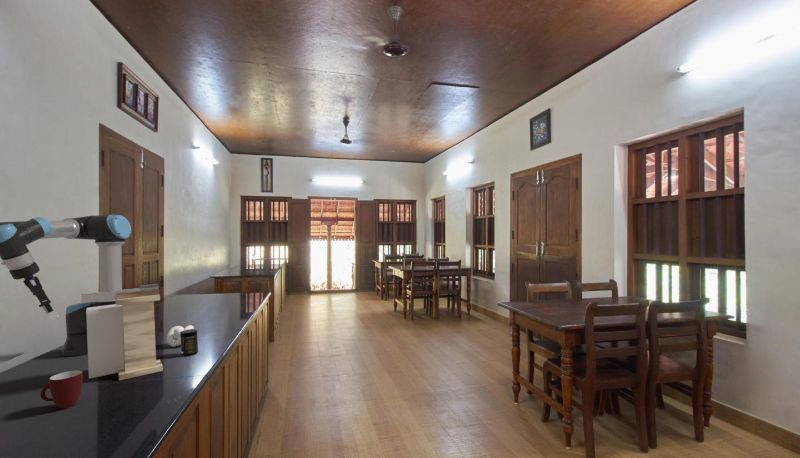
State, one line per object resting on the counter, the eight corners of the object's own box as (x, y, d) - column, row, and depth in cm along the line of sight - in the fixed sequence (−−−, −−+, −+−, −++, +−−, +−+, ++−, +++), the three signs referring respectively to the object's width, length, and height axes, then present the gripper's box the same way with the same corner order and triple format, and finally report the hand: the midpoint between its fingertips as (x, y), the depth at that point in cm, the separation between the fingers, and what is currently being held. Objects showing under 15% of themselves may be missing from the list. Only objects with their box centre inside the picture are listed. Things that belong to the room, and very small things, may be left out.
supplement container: (201, 353, 172) (200, 330, 172) (186, 357, 166) (185, 333, 166) (193, 351, 176) (192, 328, 176) (178, 355, 170) (177, 332, 170)
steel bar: (81, 302, 141) (81, 291, 141) (158, 293, 156) (157, 283, 156) (81, 303, 139) (81, 292, 139) (159, 294, 154) (158, 284, 154)
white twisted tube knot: (200, 344, 186) (199, 325, 186) (172, 350, 178) (171, 331, 178) (191, 340, 194) (191, 322, 194) (165, 346, 185) (164, 327, 185)
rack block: (89, 372, 152) (86, 307, 152) (123, 365, 158) (121, 303, 158) (88, 378, 145) (86, 310, 145) (124, 371, 152) (121, 306, 152)
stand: (118, 373, 150) (115, 292, 150) (159, 364, 159) (156, 287, 159) (119, 380, 142) (115, 295, 142) (162, 370, 151) (159, 290, 151)
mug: (35, 416, 115) (34, 383, 115) (45, 406, 122) (43, 375, 122) (80, 407, 120) (78, 376, 120) (86, 398, 127) (85, 368, 127)
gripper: (3, 263, 144) (32, 310, 152) (13, 277, 129) (45, 328, 137) (28, 255, 149) (55, 300, 158) (41, 267, 134) (70, 316, 142)
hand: (51, 313), depth 147 cm, fingers open, 13 cm apart
